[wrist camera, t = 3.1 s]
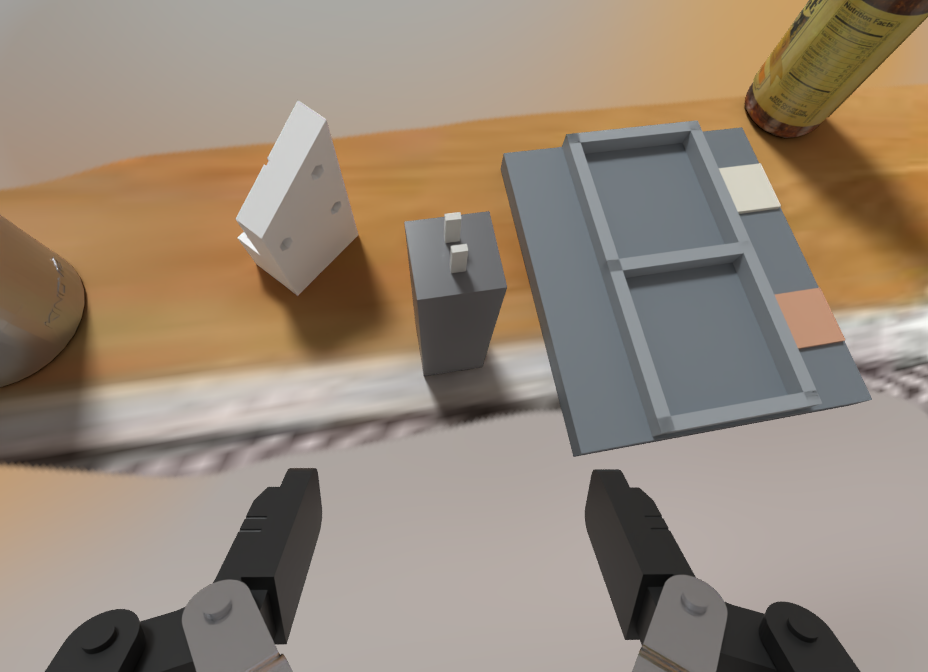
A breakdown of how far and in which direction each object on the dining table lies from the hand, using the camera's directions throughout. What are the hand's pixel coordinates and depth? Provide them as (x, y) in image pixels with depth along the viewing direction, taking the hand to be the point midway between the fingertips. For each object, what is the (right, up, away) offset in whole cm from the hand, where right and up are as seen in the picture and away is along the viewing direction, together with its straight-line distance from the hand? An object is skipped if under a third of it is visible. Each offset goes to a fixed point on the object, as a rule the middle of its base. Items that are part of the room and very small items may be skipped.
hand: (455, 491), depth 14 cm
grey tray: (+14, +8, +18) cm, 24 cm away
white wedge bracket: (-10, +10, +18) cm, 23 cm away
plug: (-1, +4, +16) cm, 16 cm away
